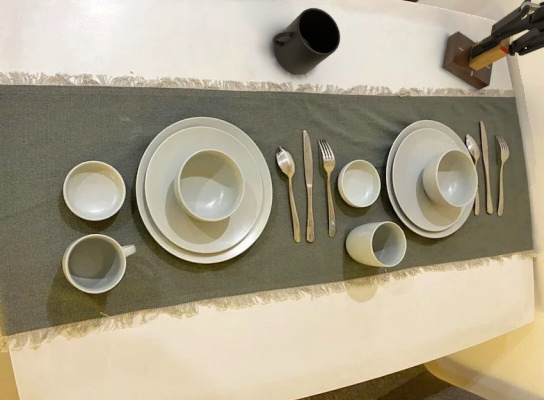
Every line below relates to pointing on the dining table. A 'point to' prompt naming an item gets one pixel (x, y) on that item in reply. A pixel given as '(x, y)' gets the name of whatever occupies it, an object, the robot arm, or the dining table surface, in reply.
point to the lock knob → (490, 55)
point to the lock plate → (465, 62)
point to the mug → (307, 41)
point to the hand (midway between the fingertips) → (477, 56)
